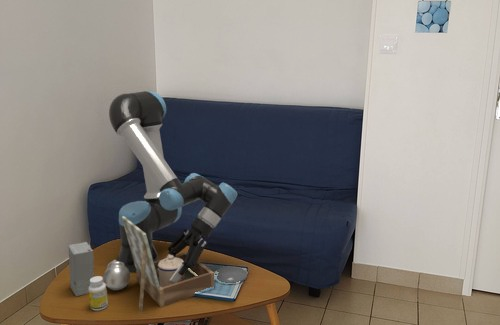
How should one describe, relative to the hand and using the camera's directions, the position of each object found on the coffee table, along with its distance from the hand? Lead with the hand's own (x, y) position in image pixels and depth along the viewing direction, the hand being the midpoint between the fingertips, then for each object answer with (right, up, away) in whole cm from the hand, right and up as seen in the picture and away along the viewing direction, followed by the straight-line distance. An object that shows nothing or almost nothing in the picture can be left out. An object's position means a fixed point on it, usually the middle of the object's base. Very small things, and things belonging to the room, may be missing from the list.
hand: (166, 276), depth 158 cm
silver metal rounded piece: (-17, -5, +2) cm, 18 cm away
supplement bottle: (-20, -8, -9) cm, 23 cm away
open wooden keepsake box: (0, -5, +2) cm, 5 cm away
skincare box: (-29, -5, +1) cm, 29 cm away
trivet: (+21, -2, +9) cm, 23 cm away
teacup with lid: (+2, -4, +4) cm, 6 cm away
